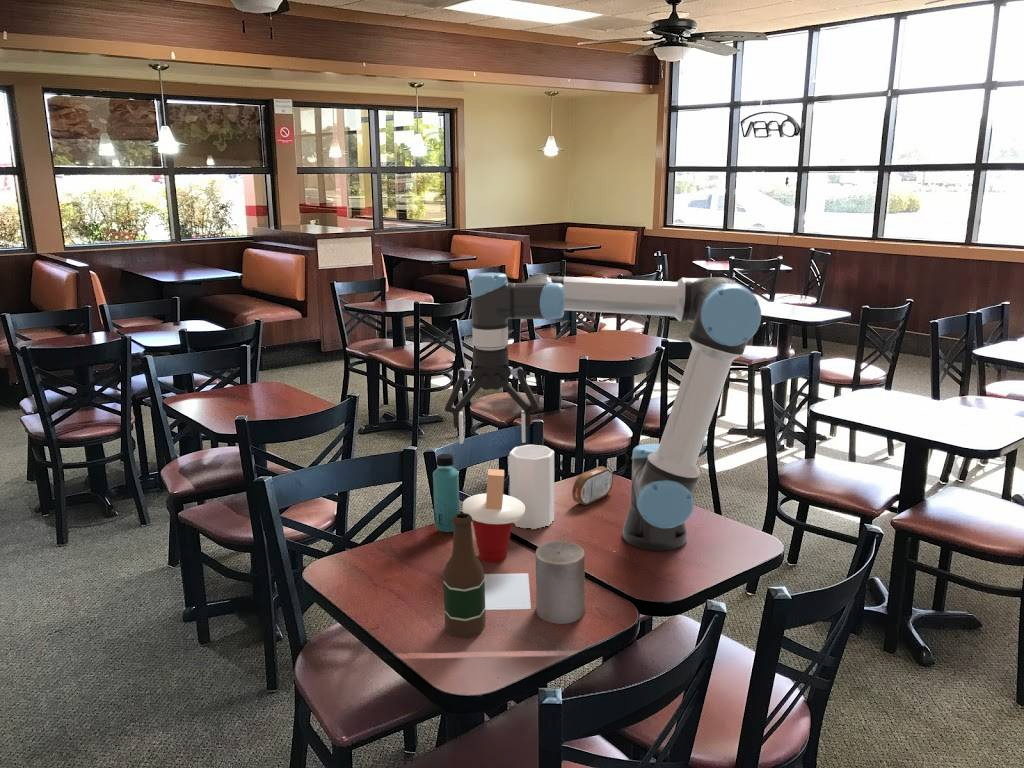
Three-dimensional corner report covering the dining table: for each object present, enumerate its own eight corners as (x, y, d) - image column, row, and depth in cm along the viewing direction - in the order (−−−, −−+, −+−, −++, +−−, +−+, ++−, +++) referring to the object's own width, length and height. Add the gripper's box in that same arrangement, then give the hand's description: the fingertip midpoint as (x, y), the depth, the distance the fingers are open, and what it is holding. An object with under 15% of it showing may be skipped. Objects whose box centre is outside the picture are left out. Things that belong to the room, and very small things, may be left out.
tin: (605, 490, 226) (606, 461, 224) (615, 493, 224) (615, 464, 222) (571, 506, 215) (571, 476, 213) (580, 509, 213) (580, 479, 211)
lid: (523, 499, 190) (526, 462, 188) (525, 525, 177) (528, 486, 174) (463, 496, 190) (465, 459, 188) (461, 522, 176) (463, 482, 174)
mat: (528, 576, 178) (528, 573, 178) (530, 612, 164) (530, 608, 164) (459, 577, 178) (459, 574, 178) (456, 613, 164) (455, 610, 163)
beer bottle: (445, 621, 161) (441, 508, 155) (484, 619, 161) (482, 506, 155) (445, 643, 153) (441, 525, 147) (486, 641, 154) (484, 523, 148)
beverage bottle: (465, 529, 202) (463, 452, 197) (452, 539, 197) (450, 461, 192) (442, 524, 205) (440, 449, 200) (429, 535, 199) (426, 457, 194)
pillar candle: (559, 597, 170) (559, 530, 166) (595, 614, 163) (595, 545, 159) (525, 614, 163) (524, 545, 159) (561, 633, 156) (560, 562, 152)
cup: (563, 519, 207) (563, 450, 203) (535, 534, 199) (535, 462, 195) (529, 508, 214) (528, 441, 210) (501, 522, 206) (499, 452, 202)
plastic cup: (512, 572, 180) (512, 522, 177) (465, 568, 182) (463, 518, 179) (521, 550, 191) (521, 502, 188) (476, 547, 193) (475, 499, 190)
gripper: (548, 341, 178) (548, 434, 183) (433, 343, 177) (436, 436, 183) (550, 349, 170) (550, 445, 176) (430, 351, 170) (434, 447, 176)
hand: (492, 441), depth 179 cm, fingers open, 13 cm apart
